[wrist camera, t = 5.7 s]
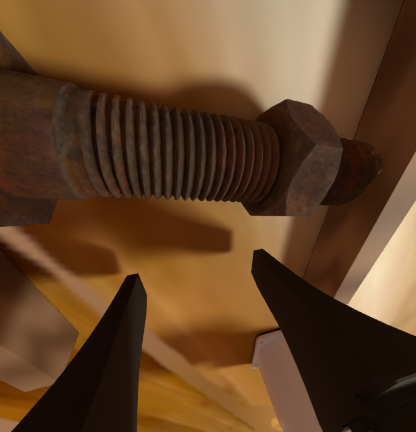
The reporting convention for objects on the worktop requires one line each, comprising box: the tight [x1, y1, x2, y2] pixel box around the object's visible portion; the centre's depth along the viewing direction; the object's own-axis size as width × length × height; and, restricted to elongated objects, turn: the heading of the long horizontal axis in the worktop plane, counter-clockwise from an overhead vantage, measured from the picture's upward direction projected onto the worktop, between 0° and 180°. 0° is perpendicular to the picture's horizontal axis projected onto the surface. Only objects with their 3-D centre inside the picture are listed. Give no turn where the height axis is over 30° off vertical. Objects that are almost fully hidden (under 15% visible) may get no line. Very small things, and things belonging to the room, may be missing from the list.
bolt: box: [0, 31, 383, 227], centre depth 7 cm, size 6×5×15 cm
